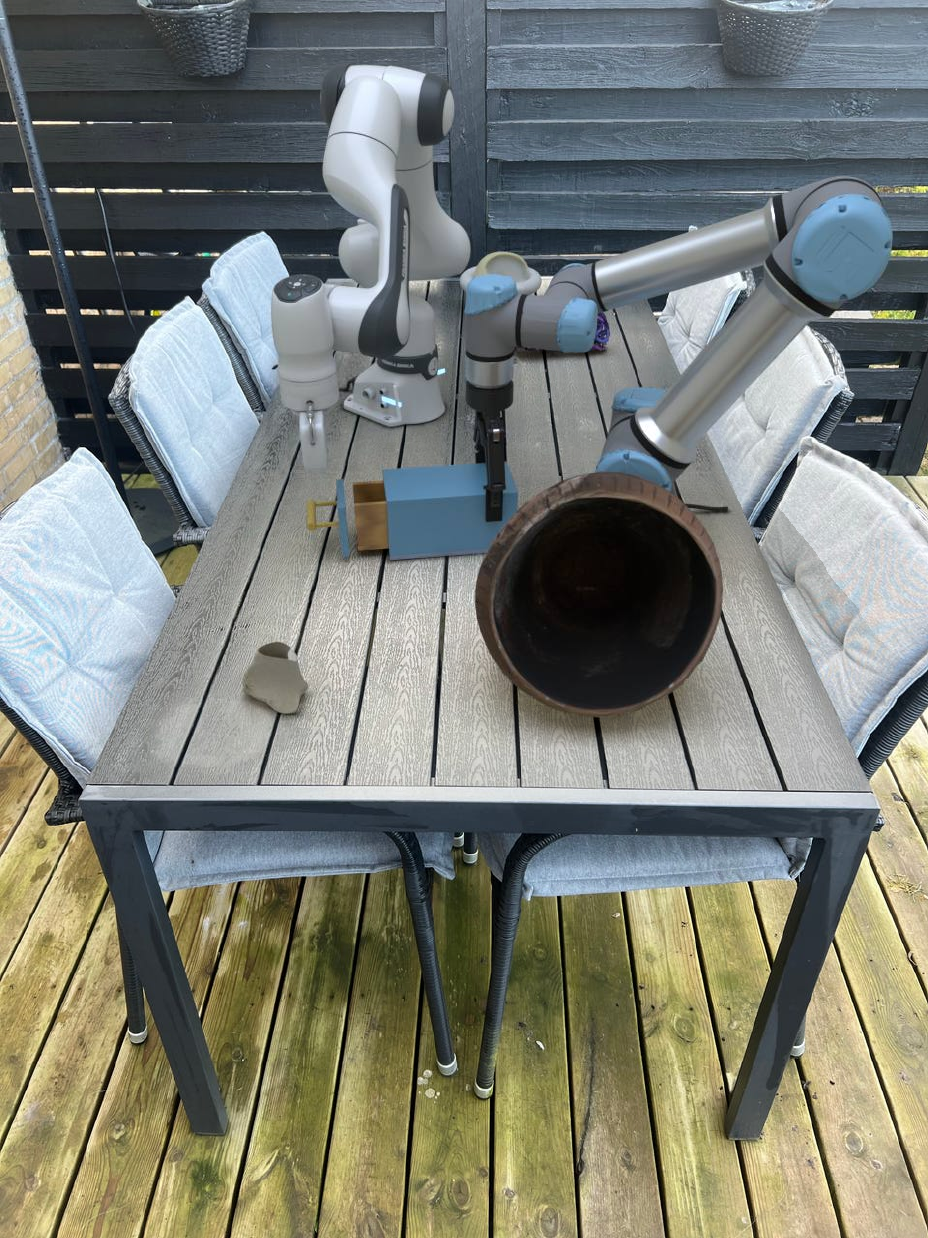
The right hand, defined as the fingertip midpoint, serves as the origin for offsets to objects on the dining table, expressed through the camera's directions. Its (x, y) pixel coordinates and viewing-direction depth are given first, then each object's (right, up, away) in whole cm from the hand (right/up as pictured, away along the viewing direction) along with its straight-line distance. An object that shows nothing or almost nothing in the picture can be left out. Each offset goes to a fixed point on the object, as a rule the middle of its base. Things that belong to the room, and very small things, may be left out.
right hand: (488, 502), depth 158 cm
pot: (+14, -25, -22) cm, 37 cm away
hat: (+6, +64, +95) cm, 115 cm away
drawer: (-18, -6, +1) cm, 19 cm away
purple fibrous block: (+16, +46, +70) cm, 85 cm away
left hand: (-28, +4, -8) cm, 29 cm away
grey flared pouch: (-30, -31, -29) cm, 52 cm away
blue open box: (-7, -6, +3) cm, 9 cm away
